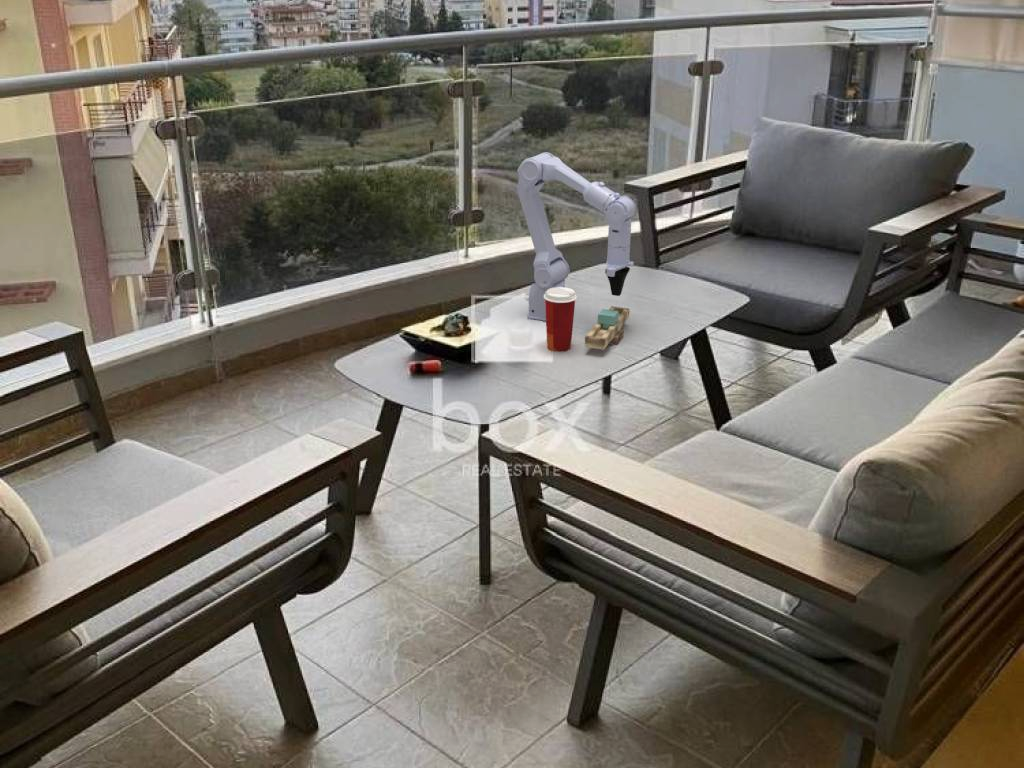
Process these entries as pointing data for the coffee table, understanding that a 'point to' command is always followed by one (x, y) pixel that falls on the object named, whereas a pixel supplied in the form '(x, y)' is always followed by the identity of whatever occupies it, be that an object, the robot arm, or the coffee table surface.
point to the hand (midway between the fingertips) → (616, 294)
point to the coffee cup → (559, 317)
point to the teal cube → (608, 318)
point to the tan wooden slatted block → (607, 331)
